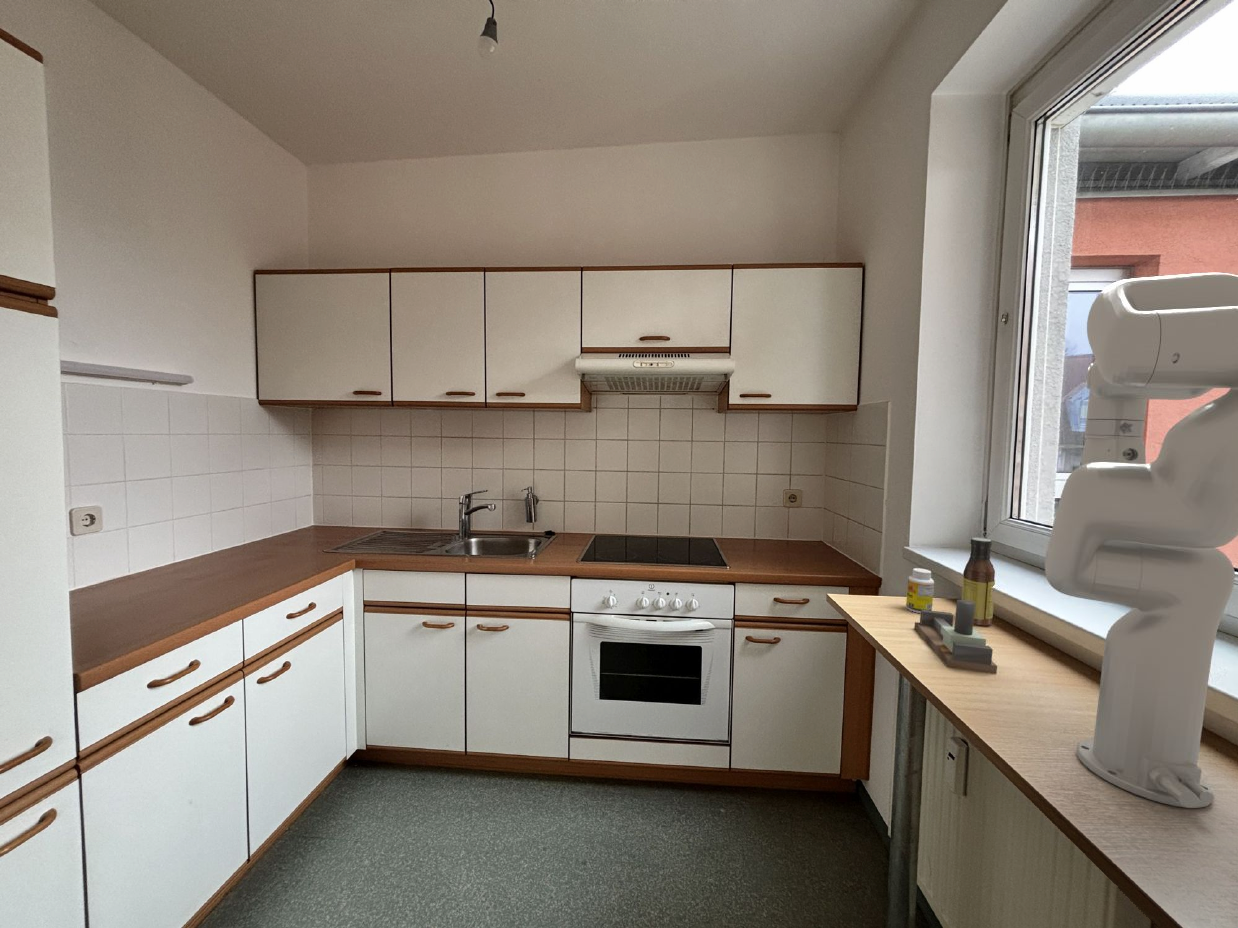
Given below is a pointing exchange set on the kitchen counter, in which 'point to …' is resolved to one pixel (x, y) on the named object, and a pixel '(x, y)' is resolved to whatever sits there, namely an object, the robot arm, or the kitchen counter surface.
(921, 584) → the supplement bottle
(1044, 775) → the kitchen counter surface
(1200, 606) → the robot arm
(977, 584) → the sauce bottle
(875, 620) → the kitchen counter surface
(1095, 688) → the kitchen counter surface
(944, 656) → the rail base
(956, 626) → the carriage
